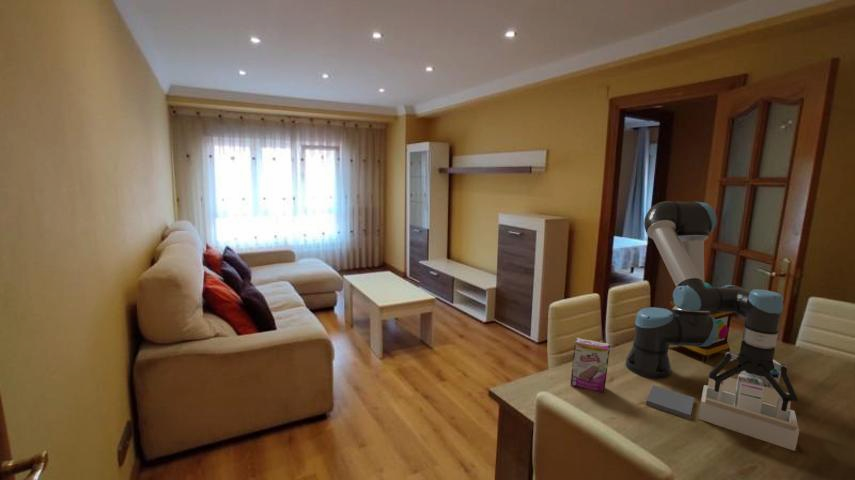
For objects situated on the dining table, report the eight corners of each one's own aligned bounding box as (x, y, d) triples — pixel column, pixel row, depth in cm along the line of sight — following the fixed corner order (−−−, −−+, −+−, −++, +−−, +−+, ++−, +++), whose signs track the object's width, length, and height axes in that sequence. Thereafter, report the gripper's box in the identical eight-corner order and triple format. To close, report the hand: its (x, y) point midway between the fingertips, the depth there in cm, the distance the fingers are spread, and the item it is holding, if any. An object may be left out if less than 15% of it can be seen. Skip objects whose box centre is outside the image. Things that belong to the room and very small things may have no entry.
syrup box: (757, 432, 115) (766, 387, 113) (732, 425, 118) (740, 381, 116) (754, 422, 120) (763, 378, 117) (730, 415, 123) (738, 372, 120)
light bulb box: (778, 394, 136) (783, 365, 134) (755, 391, 137) (761, 362, 135) (759, 378, 146) (764, 351, 144) (738, 376, 147) (743, 349, 145)
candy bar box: (570, 386, 138) (574, 342, 135) (571, 379, 143) (575, 336, 140) (605, 394, 134) (610, 349, 131) (605, 387, 138) (610, 343, 135)
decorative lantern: (657, 345, 172) (666, 279, 167) (685, 337, 181) (694, 274, 176) (707, 366, 154) (718, 292, 149) (734, 356, 163) (746, 286, 158)
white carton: (697, 425, 118) (701, 396, 116) (702, 396, 134) (706, 370, 132) (796, 459, 105) (803, 427, 103) (789, 422, 120) (795, 394, 119)
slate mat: (645, 404, 128) (646, 400, 128) (652, 389, 137) (652, 385, 137) (689, 419, 121) (690, 415, 121) (693, 401, 130) (694, 397, 130)
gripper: (705, 335, 119) (695, 400, 123) (820, 361, 104) (805, 433, 108) (706, 328, 125) (697, 390, 129) (815, 351, 110) (801, 420, 114)
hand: (746, 410), depth 118 cm, fingers open, 13 cm apart
